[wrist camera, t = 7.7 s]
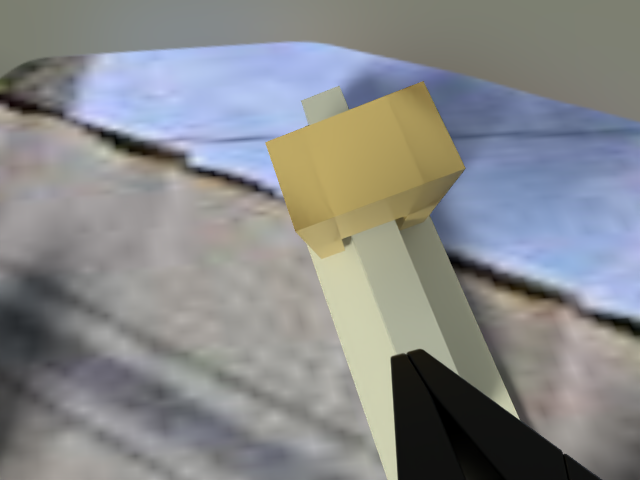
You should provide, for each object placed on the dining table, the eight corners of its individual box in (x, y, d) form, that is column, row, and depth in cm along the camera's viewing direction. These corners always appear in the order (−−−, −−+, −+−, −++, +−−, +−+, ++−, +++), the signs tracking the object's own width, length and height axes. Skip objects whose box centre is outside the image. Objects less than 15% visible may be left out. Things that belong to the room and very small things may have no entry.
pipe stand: (529, 452, 18) (585, 502, 14) (394, 495, 19) (405, 557, 14) (380, 111, 23) (384, 64, 19) (276, 151, 24) (256, 115, 19)
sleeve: (423, 221, 20) (465, 168, 12) (321, 259, 21) (295, 231, 12) (399, 165, 21) (423, 81, 13) (301, 202, 21) (265, 142, 13)
